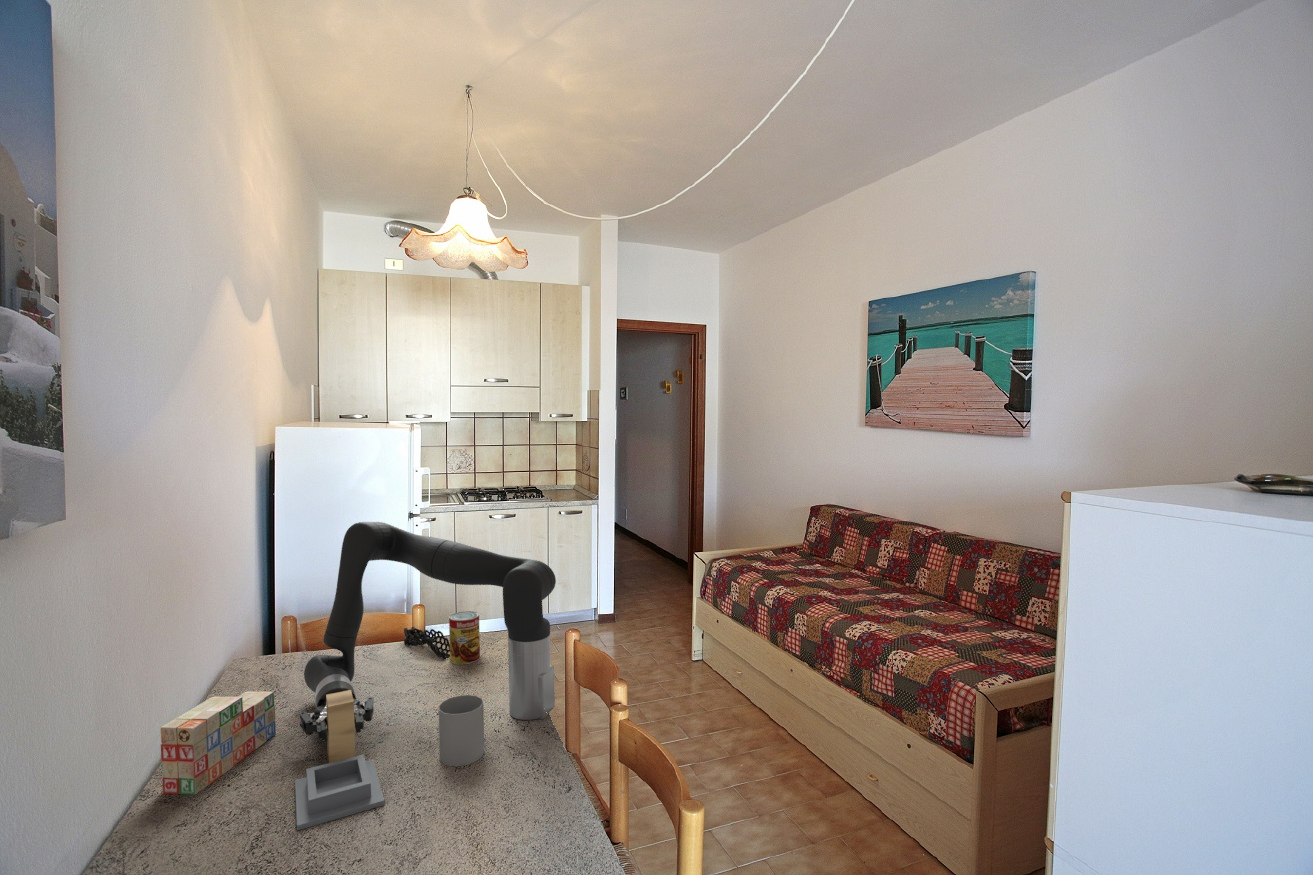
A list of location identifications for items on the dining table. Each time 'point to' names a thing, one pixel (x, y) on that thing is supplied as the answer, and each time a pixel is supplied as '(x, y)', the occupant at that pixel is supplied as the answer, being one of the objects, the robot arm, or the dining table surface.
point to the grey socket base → (337, 791)
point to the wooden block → (340, 726)
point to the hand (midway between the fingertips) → (341, 731)
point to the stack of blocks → (214, 739)
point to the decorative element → (427, 640)
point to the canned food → (464, 637)
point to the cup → (461, 730)
